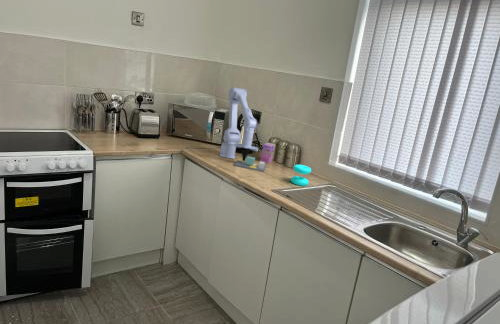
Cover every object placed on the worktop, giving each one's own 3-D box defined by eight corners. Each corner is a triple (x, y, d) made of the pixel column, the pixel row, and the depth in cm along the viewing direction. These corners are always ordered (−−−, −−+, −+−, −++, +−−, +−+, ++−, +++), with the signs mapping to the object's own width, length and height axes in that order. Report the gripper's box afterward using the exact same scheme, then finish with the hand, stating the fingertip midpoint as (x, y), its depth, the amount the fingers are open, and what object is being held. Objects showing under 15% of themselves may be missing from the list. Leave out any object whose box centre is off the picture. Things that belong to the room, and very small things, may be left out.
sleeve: (245, 163, 230) (246, 157, 229) (246, 162, 234) (247, 156, 233) (253, 165, 229) (254, 159, 229) (254, 163, 234) (255, 157, 233)
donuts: (307, 165, 219) (314, 170, 210) (303, 181, 222) (310, 187, 212) (291, 163, 216) (298, 168, 207) (287, 179, 219) (294, 185, 209)
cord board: (234, 165, 227) (235, 159, 226) (237, 161, 239) (238, 155, 238) (264, 172, 226) (265, 165, 225) (265, 167, 237) (266, 161, 236)
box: (268, 163, 248) (271, 146, 246) (259, 161, 250) (263, 144, 247) (272, 161, 258) (275, 144, 255) (264, 159, 260) (267, 142, 257)
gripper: (234, 137, 225) (230, 159, 229) (258, 142, 224) (254, 164, 227) (236, 135, 232) (232, 157, 235) (260, 140, 231) (255, 161, 234)
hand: (243, 160), depth 232 cm, fingers closed
